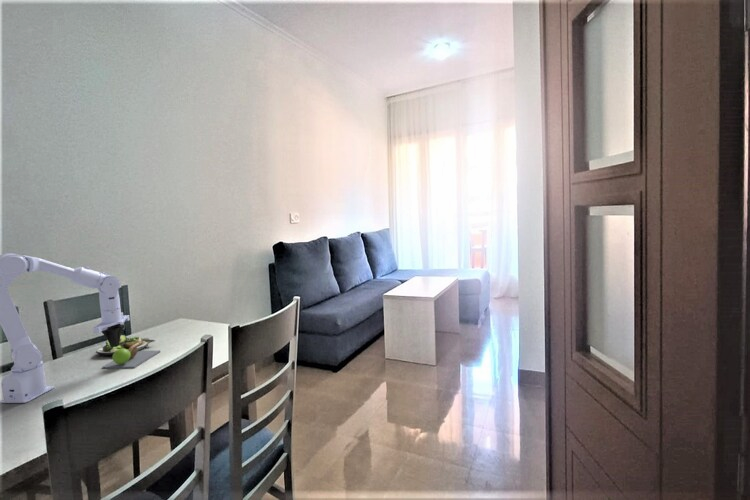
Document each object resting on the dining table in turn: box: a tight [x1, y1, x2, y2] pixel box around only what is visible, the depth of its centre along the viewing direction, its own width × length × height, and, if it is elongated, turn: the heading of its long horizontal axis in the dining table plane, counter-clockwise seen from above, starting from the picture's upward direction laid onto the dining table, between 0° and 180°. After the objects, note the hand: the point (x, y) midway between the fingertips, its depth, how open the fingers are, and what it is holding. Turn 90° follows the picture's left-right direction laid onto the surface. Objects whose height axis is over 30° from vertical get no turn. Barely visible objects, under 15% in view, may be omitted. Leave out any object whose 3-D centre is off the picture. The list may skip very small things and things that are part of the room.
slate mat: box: [102, 350, 161, 369], centre depth 140 cm, size 15×12×1 cm
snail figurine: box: [112, 340, 144, 364], centre depth 137 cm, size 5×6×12 cm
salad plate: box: [96, 334, 156, 357], centre depth 152 cm, size 19×18×5 cm
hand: (114, 346), depth 131 cm, fingers closed
